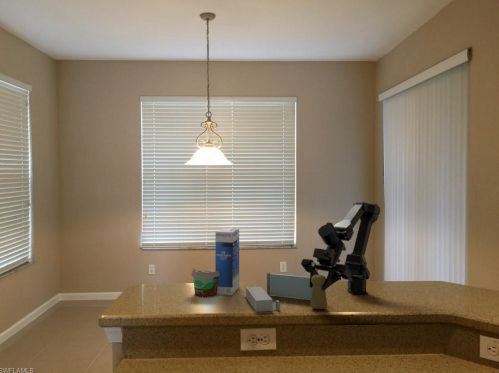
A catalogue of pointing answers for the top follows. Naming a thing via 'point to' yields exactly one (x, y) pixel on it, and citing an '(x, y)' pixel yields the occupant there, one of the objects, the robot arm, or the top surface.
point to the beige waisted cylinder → (318, 292)
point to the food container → (205, 283)
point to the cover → (290, 286)
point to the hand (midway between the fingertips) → (316, 288)
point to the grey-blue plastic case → (261, 298)
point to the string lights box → (227, 260)
